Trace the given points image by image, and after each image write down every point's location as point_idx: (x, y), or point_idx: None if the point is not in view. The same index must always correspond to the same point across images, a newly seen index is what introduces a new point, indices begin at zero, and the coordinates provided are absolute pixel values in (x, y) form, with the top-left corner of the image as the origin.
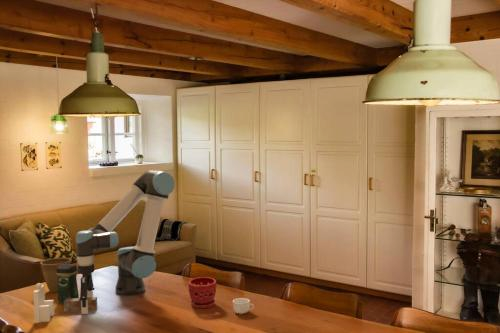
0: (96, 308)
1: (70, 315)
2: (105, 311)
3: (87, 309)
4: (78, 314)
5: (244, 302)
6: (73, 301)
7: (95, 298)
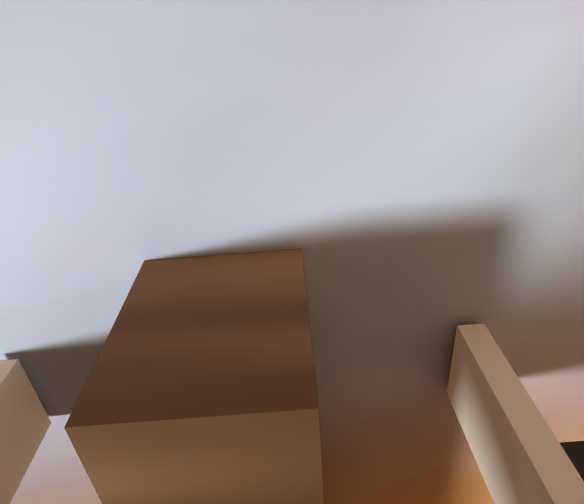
0: (232, 257)
1: (452, 478)
2: (422, 28)
3: (518, 379)
4: (445, 419)
5: None
6: None
7: (201, 429)
